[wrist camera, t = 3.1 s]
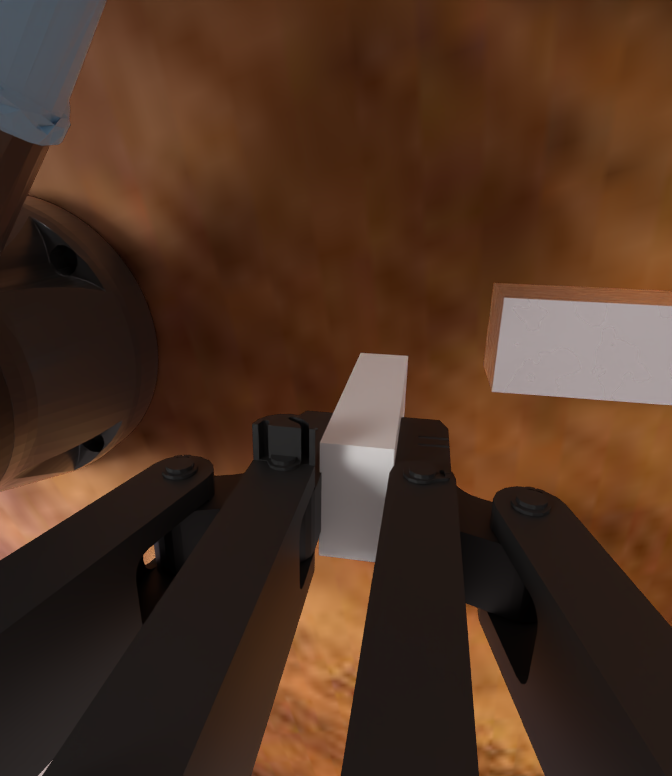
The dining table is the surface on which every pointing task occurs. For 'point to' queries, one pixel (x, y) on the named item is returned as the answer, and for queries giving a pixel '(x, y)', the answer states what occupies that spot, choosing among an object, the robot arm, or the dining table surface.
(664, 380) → the banded white block
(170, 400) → the dining table surface
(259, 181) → the dining table surface
